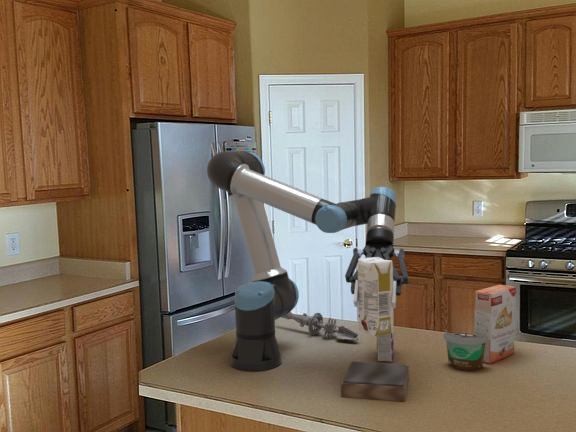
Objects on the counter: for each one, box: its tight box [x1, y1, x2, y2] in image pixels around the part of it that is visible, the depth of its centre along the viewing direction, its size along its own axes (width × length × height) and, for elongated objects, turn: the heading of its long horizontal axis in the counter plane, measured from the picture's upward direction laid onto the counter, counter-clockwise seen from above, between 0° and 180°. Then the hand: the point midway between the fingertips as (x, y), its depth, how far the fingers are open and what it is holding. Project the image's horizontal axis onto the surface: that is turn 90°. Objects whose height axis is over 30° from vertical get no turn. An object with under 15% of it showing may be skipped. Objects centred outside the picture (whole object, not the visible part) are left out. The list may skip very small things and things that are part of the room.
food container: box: [443, 329, 488, 372], centre depth 172 cm, size 12×6×10 cm, turn 70°
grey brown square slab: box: [340, 361, 410, 402], centre depth 160 cm, size 16×16×4 cm
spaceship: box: [281, 311, 361, 341], centre depth 209 cm, size 8×35×8 cm
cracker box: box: [473, 284, 517, 365], centre depth 181 cm, size 14×6×21 cm, turn 131°
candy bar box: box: [376, 325, 395, 363], centre depth 184 cm, size 11×5×16 cm, turn 168°
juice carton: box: [357, 257, 395, 337], centre depth 157 cm, size 8×9×19 cm
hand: (374, 304), depth 155 cm, fingers closed on juice carton, 9 cm apart
